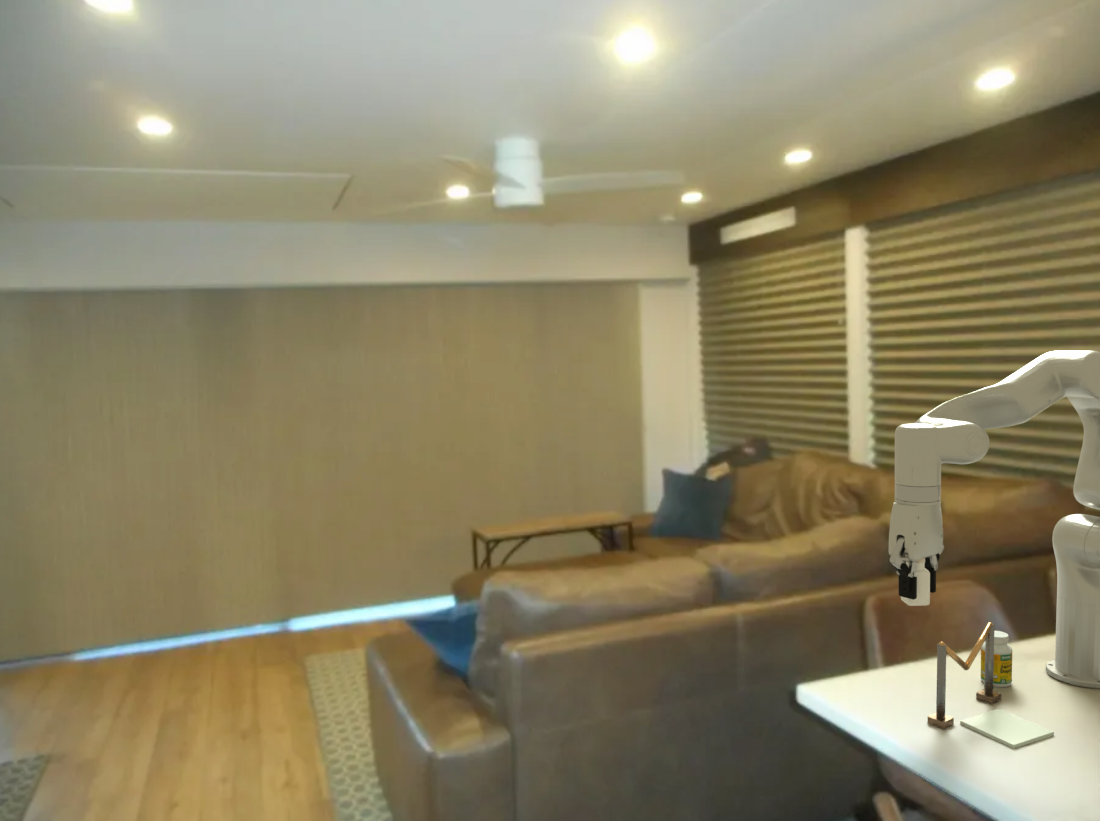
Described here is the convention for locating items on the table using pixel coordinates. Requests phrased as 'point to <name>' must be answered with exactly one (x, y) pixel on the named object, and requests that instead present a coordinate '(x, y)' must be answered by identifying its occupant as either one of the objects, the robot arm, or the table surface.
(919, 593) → the salt shaker
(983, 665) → the supplement bottle
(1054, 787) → the table surface
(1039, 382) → the robot arm
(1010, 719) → the mat
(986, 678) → the wire hurdle
